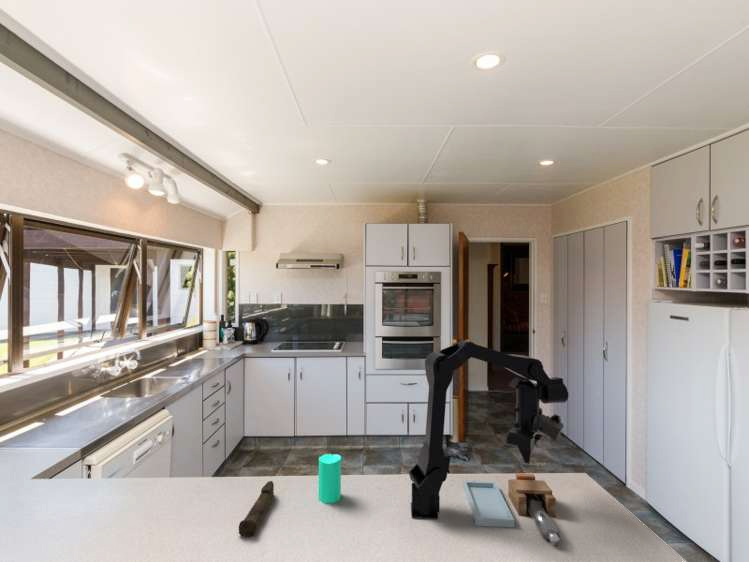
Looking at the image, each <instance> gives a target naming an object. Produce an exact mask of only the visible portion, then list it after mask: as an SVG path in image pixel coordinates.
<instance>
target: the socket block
mask: <svg viewBox="0 0 749 562" xmlns="http://www.w3.org/2000/svg"><path fill="white" fill-rule="evenodd" d="M507 485H508V486H507V487H508V491H507V492H508V494H507V495H508V496H507V497H508V498H509V500H510V503H511V504H512V506H513V508H514V509H515V512H516V513H517V515H518V516H527V507H526V496H525V494H524V493H534V494H536V495H537V496H538V498H539V499H540V501H541V506H542V507H543V509H544V510H545V512H546V513H547V514H548V516H549V517H551V518H552V517H556V497H555V495H553V490H552V489H551V487H550V486H549V485H548V484H547V482H546V481H545V480H539V479H538V480H537V479H535V480H516V478H515V479H511V478H510V479H508V484H507Z"/></svg>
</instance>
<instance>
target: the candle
mask: <svg viewBox="0 0 749 562" xmlns="http://www.w3.org/2000/svg"><path fill="white" fill-rule="evenodd" d="M341 480H342V457H341V455H339V454H337V453H336V454H331V453H329V454H328V453H325V454H324V455H322V456H319V458H318V491H317V492H318V500H319V501H320V502H321V503H323V504H334V503H336V502H339V501H340V499H341V497H342V496H341V493H342V490H341V488H342V487H341V486H342V484H341V483H342V481H341Z"/></svg>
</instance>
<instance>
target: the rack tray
mask: <svg viewBox="0 0 749 562" xmlns="http://www.w3.org/2000/svg"><path fill="white" fill-rule="evenodd" d="M462 487H463V490H464V493H465V497H466V500H467V502H468V506H469V509H470V511H471V514H472V518H473V520H474V524H475V526H480V527H495V528H496V527H498V528H499V527H500V528H502V527H503V528H515V527H516V520H515V518H514V516H513V514H512V512H511V510H510V508H509V506H508V504H507V503H506V500H505V499H504V497H503V495H502V492H501V491H500V488H499V487H498V485H497V483H496V481H479V480H477V481H473V480H463V481H462Z"/></svg>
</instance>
